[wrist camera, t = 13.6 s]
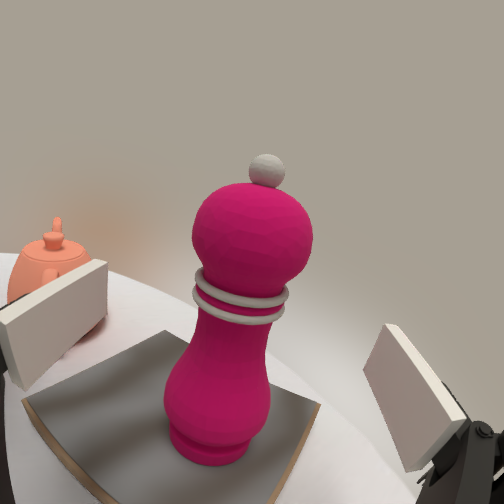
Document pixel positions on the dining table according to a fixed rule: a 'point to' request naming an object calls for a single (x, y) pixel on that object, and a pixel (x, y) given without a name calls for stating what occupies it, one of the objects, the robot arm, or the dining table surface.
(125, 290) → the dining table surface
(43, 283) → the teapot
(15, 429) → the dining table surface
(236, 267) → the pepper mill
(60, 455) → the walnut stand
